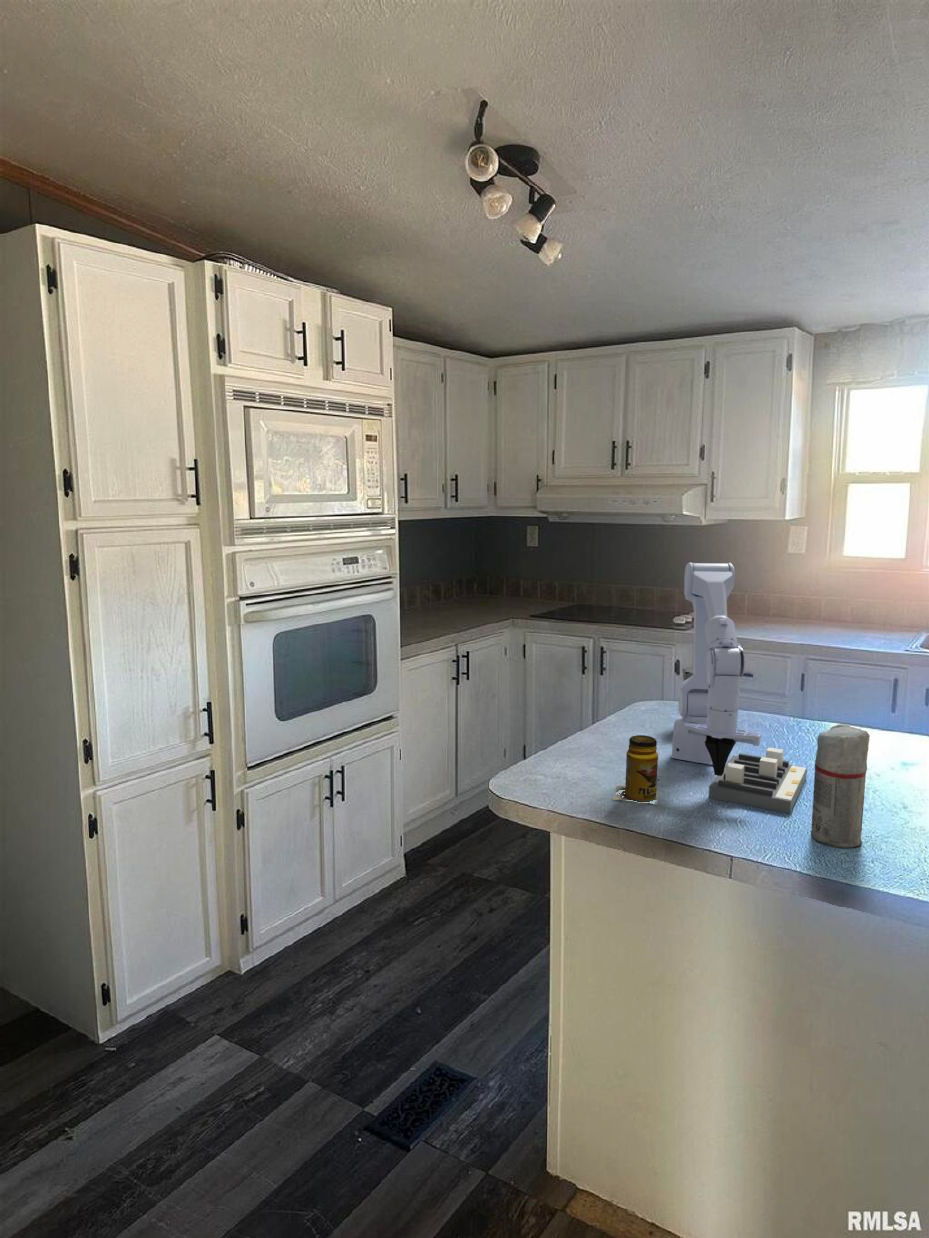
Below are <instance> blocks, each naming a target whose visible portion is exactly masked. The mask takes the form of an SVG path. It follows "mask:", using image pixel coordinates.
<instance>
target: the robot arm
mask: <svg viewBox="0 0 929 1238" xmlns="http://www.w3.org/2000/svg"><path fill="white" fill-rule="evenodd" d="M684 568H685V569H684V583H683V584H684V587H683V588H684V589H683V593H684V599H685V600H686V601H689V602H690V603H692V607H693V647H692V648H693V652H692V653H693V655H692V657H693V658H692V660H693V661H692V665H693V675H692V676H691V677H689V678H688V679H687V680H685V681H684V680H683V681H682V682H681V683H680V685H679V694H678V713H679V716H676V718H675V720H674V724H673V729H672V744H671V745H672V749H671V750H672V751H671V756H670V758H671V759H675V760H681V761H685V762H686V761H687V762H692V763H698V764H705V765H709V766H712V767H713V775H714V776H717V775H718V776H722V775H723V773H724V769H725V765H726V764H727V763H728V759H729V756H730V754H731V752H732V751H733V748H734V747H735V745H736V743H743V744H750V745H752V746H753V747H755V746H756V747H759V746H760V745H761V739H762V733H757V732H752V731H748V730H744V729H741V728H738V713H739V699H740V685H741V684H740V682H741V678H742V677H743V676H744V673H745V667H746V665H745V664H746V661H745V659H746V658H745V651H744V649H743V647H742V645H741V643H738V638H737V637H738V636H737V633H736V632H737V631H736V625H735V622H734V621H733V619H731V618H730V617H728V605H727V604H728V603H727V599H728V598H729V596H730V594H731V592H732V591H733V589H734V587H735V580H736V572H735V571H736V570H735V567H734V565H733V564H732V562H727V563H720V562H719V563H718V562H716V563H712V562H711V563H710V562H708V563H706V562H701V563H700V562H699V563H697V562H690V561H689V562H688V563H687V564H686V565H685V567H684ZM691 689H708V691H694V690H691Z"/></svg>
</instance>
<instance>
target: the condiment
mask: <svg viewBox="0 0 929 1238" xmlns="http://www.w3.org/2000/svg"><path fill="white" fill-rule="evenodd" d="M628 742H629V744H628V750H627V751H626V758H625V761H626V763H625V765H626V767H625V785H624V786H623V785H616V787H615V790H614V792H615V791H616V792H618V791H619V790H625V791H623V792H622V793H621V794H620V793H619V794H620V795H618V794H617V795H616V794H615V795H614V794H613V797H612V801H619V800H623V801H622V802H627V801H626V800H633V801H637V802H650V801H653V800H658V801H659V795H660V790H657V788H658V769H659V768H658V762H659V754H658V751H657V743H658V742H657V739H656V738H654V737H653V736H649V735H644V734H643V735H642V734H636V735H632V736H631V737H629V739H628ZM624 793H625V794H624ZM622 796H624V797H625V798H624V797H623V798H622ZM628 802H629V803H632V802H631V801H628ZM657 805H658V802H655V805H654V804H653V806H657Z"/></svg>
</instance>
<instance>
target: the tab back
mask: <svg viewBox="0 0 929 1238" xmlns="http://www.w3.org/2000/svg"><path fill="white" fill-rule="evenodd" d="M784 752H785V751H784V749H782V748H781V749H780V748H775V747H770V746H768V748H767V749H766V751H765V757H766V758H772V759H778V763H777V766H779V767H782V766H783V760H784Z"/></svg>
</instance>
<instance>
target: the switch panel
mask: <svg viewBox="0 0 929 1238" xmlns="http://www.w3.org/2000/svg"><path fill="white" fill-rule="evenodd" d="M762 757H763V756H758V755H753V754H747V753H738V755H735V754H734V755H732V756H731V757H730V759H729V760H727V762H726V765H725V769H724V773H723V775H722V776H718V775H716V777H715V778H714V779H713V781H711V783H710V785H709V787H708V798H709V799H713V800H719V801H725V802H729V803H735V804H739V805H745V806H749V807H755V808H761V809H764V810H771V811H773V812H774V811H775V812H779V813H780V812H781V813H785V814H791V813H792V810H793V808H794V806H795V804H796V801H797V799H798V797H799V795H800V793H801V791H802V788H803V787H804V784H805V783H806V780H807V775H808V773H807V772H808V767H806V766H805V767H804V766H800V765H793V764H789V763H790V761H789V760H784V759H783V766H782V767H779V766H777V777H776V778H775V777H770V776H764V775H759V765H760V759H761V758H762ZM728 763H734V764H740V765H745V767H744V783H743V784H739V783H734V782H729V781H725V777H726V766H727V764H728Z"/></svg>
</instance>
